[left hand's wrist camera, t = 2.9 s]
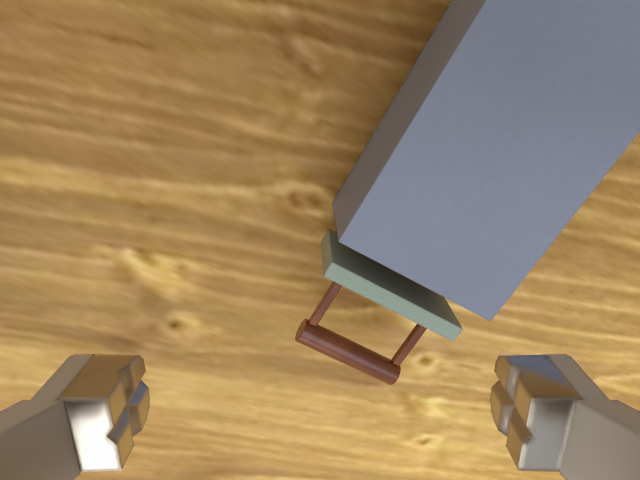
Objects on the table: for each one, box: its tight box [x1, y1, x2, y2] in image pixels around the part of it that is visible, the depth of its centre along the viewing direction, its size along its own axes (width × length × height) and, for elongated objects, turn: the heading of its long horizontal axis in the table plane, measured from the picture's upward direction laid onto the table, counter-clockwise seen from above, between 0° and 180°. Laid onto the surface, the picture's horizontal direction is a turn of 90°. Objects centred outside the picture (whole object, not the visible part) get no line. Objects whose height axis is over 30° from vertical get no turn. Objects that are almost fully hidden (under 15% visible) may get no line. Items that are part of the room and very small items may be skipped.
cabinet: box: [333, 0, 640, 321], centre depth 30 cm, size 20×12×9 cm, turn 151°
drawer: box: [295, 230, 463, 385], centre depth 32 cm, size 25×10×7 cm, turn 151°
